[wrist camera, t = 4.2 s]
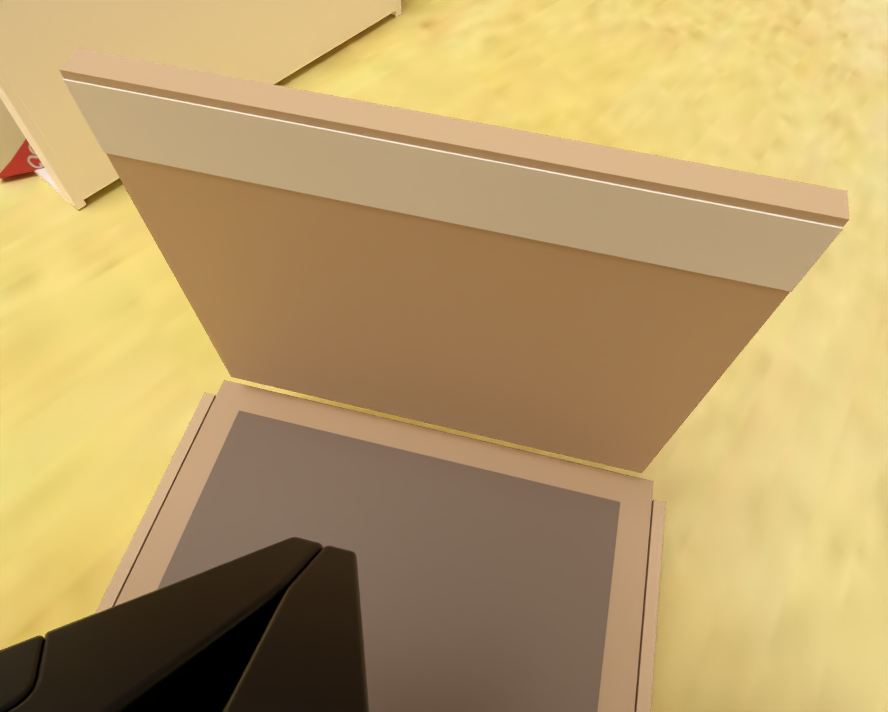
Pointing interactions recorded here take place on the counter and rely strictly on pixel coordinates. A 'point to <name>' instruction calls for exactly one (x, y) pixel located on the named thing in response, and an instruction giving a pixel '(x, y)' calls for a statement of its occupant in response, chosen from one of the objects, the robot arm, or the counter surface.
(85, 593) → the counter surface
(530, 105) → the counter surface
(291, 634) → the robot arm
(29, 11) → the white channel bracket
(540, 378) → the flap
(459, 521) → the carton
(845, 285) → the counter surface
